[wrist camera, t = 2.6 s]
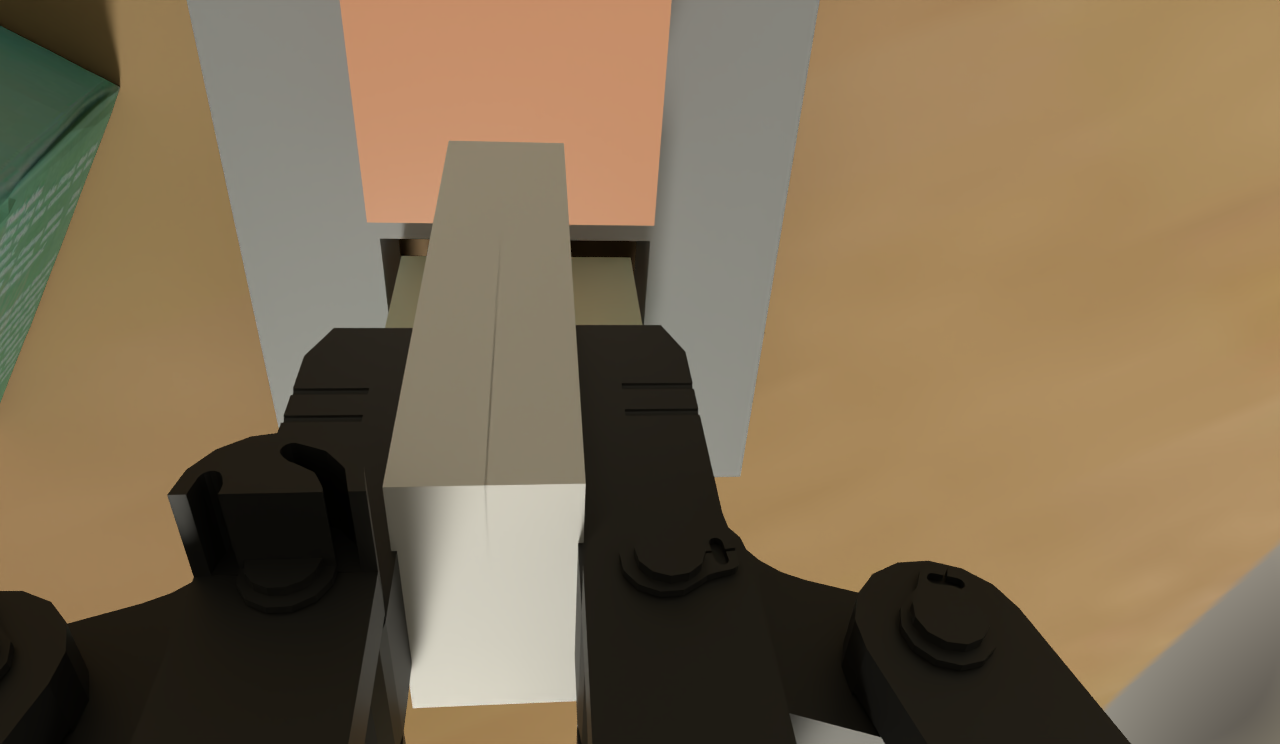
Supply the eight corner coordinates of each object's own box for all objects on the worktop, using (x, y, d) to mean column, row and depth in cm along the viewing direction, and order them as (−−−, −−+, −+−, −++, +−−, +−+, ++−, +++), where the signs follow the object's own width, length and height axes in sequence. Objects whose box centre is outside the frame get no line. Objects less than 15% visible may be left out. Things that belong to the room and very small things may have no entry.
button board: (309, 423, 31) (291, 485, 28) (45, -973, 14) (-52, -1105, 12) (724, 417, 32) (740, 476, 30) (909, -847, 16) (976, -940, 14)
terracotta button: (390, 146, 22) (367, 222, 19) (361, -134, 19) (327, -98, 16) (637, 151, 23) (653, 226, 20) (653, -118, 20) (677, -80, 16)
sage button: (419, 433, 28) (404, 530, 25) (401, 256, 24) (381, 342, 21) (619, 430, 28) (631, 524, 25) (630, 257, 25) (645, 341, 22)
